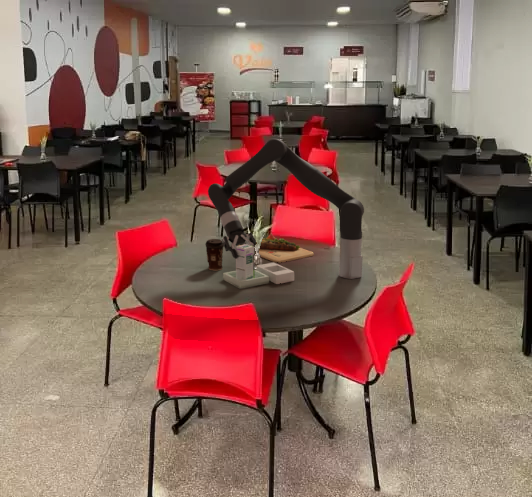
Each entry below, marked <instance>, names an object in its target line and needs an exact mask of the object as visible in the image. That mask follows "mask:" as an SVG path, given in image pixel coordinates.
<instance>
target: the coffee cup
mask: <svg viewBox="0 0 532 497" xmlns="http://www.w3.org/2000/svg"><path fill="white" fill-rule="evenodd" d="M205 247H206V260H207V263H208V267H207V269H208V270H209V271H213V272H214V271H216V272H217V271H221V270H223V256H224V255H223V253H224V248H225V247H224V244H223V241H222V239H219V238H211V239H208V240H206V241H205Z"/></svg>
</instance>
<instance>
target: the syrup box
mask: <svg viewBox="0 0 532 497" xmlns="http://www.w3.org/2000/svg"><path fill="white" fill-rule="evenodd" d="M234 249H235V250H236V252H237V254H238V258H237V259H235V271H236V279H238V280H240V281H243V280H248V279H253V278H255V270H256V267H255V256H254V246H251V245H247V244H244V245H241V246H235V248H234Z"/></svg>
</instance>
